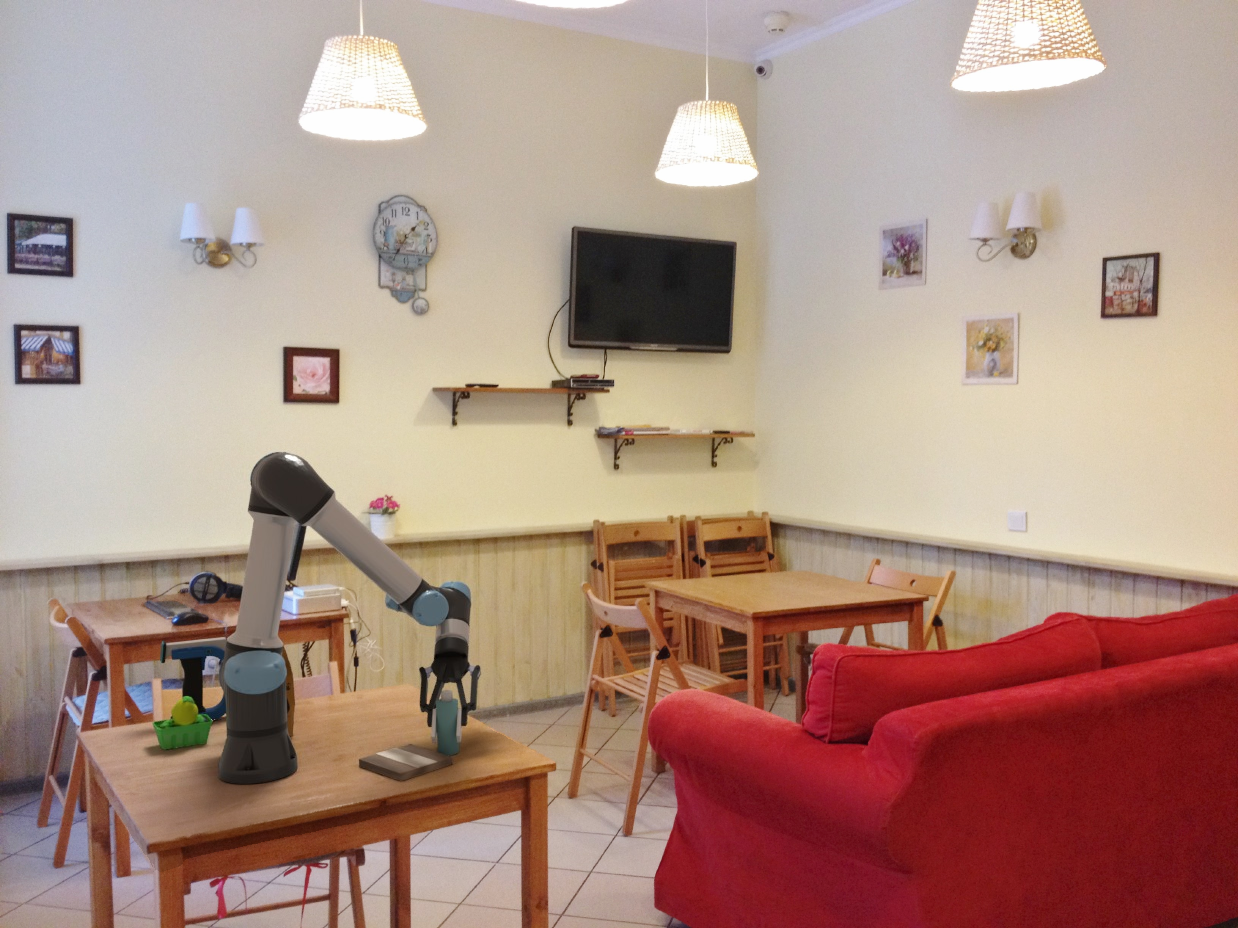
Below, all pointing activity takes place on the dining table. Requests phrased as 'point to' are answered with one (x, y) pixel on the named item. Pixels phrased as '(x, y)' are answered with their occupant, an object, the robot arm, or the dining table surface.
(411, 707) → the dining table surface
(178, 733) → the fruit basket
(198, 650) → the handheld scanner
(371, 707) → the dining table surface
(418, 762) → the brown cream striped panel
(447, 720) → the teal bottle with cap
